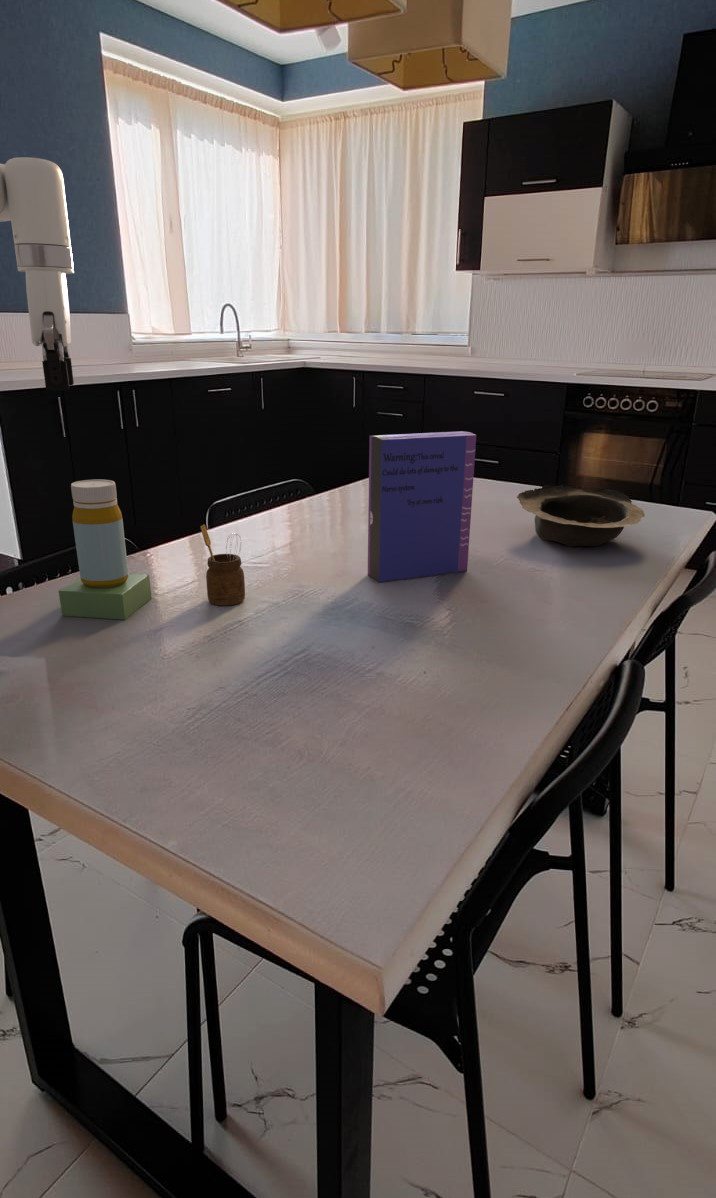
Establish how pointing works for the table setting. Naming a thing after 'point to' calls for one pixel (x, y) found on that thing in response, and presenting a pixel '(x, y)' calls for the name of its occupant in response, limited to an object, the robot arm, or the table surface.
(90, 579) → the bottle
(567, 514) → the stone bowl
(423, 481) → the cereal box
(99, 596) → the green block
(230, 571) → the utensil holder
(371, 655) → the table surface
